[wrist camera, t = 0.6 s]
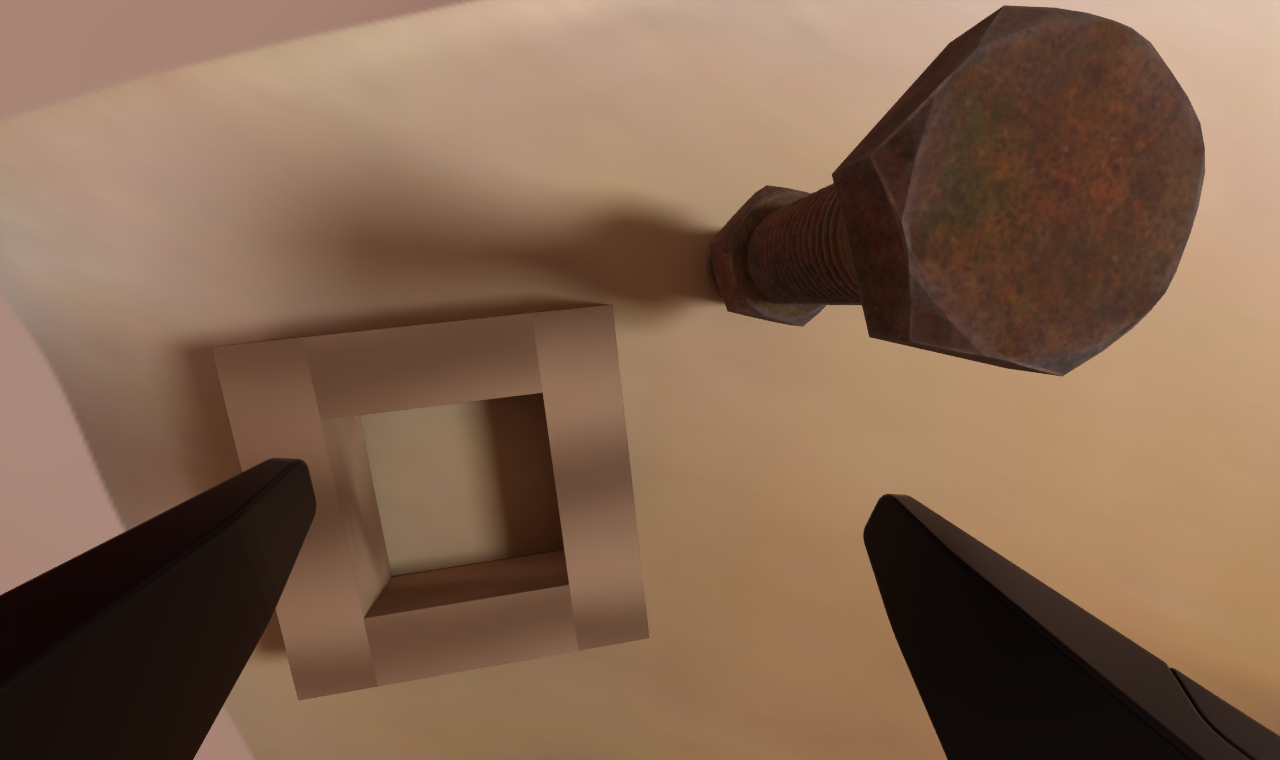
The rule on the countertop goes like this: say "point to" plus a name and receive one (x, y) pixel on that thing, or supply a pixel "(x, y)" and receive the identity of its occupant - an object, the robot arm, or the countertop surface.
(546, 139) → the countertop surface
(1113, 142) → the bolt
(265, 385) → the jig
